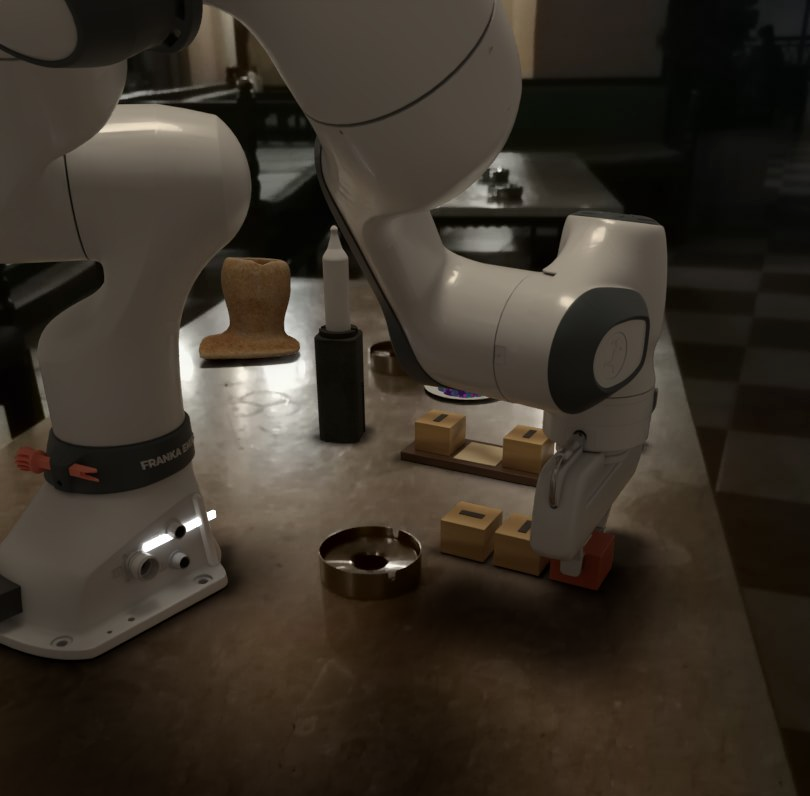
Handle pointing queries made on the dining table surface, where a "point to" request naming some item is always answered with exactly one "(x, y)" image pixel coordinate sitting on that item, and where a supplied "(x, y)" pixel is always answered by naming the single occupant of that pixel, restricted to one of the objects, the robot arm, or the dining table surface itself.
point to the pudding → (454, 393)
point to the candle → (339, 354)
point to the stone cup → (253, 311)
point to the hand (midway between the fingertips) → (582, 557)
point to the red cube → (589, 562)
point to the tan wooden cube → (517, 546)
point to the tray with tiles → (479, 449)
